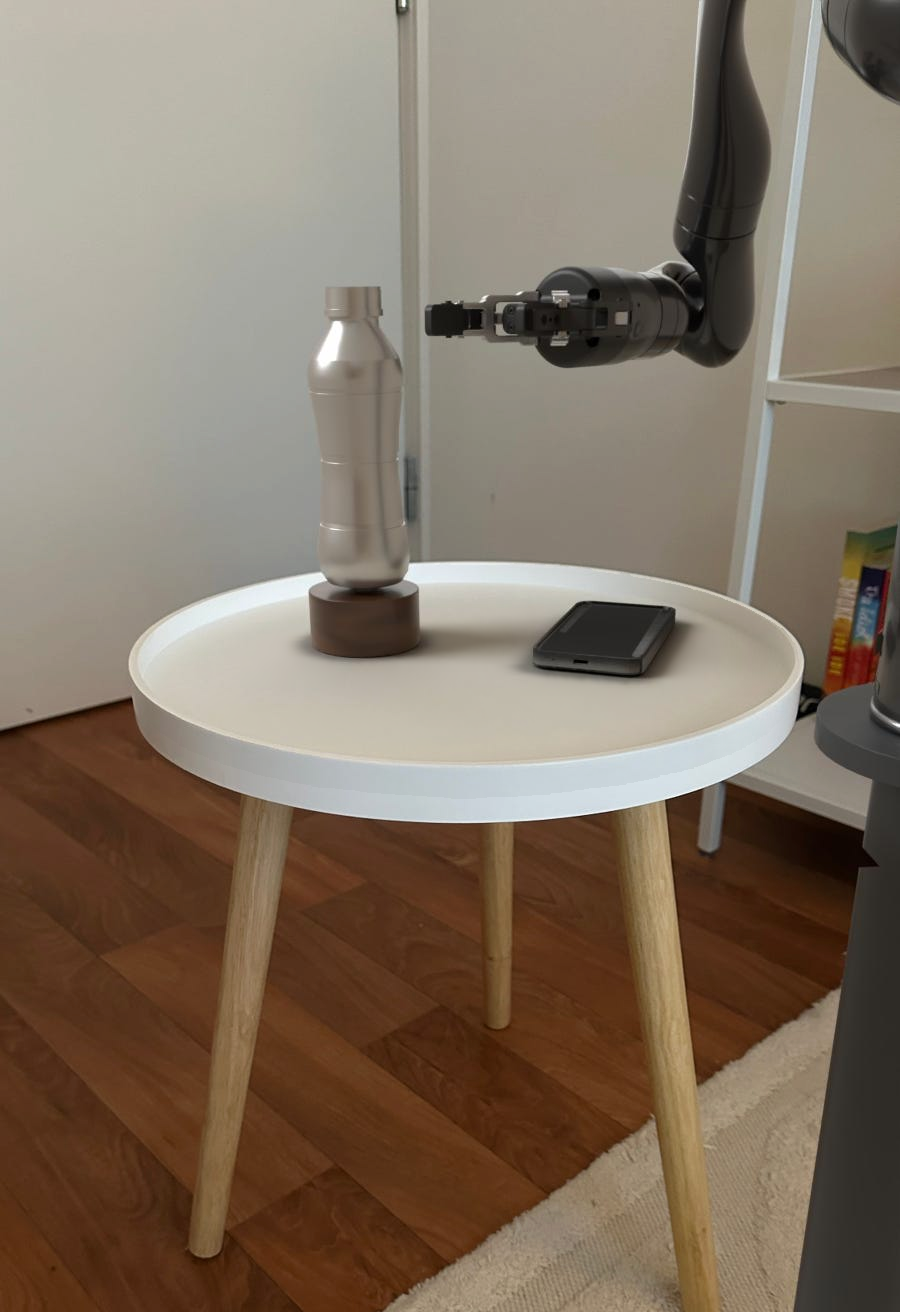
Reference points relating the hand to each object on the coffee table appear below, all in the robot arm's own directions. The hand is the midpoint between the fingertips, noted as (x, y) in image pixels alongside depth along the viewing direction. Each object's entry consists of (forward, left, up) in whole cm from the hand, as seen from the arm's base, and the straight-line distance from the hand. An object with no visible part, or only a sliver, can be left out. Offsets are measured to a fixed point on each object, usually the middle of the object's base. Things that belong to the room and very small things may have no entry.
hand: (472, 320), depth 84 cm
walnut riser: (+3, +10, -22) cm, 24 cm away
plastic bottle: (+3, +10, -18) cm, 21 cm away
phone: (-13, +3, -22) cm, 25 cm away
